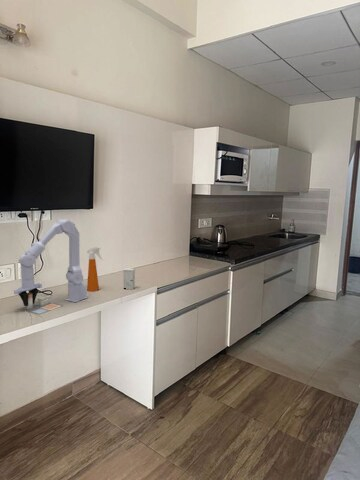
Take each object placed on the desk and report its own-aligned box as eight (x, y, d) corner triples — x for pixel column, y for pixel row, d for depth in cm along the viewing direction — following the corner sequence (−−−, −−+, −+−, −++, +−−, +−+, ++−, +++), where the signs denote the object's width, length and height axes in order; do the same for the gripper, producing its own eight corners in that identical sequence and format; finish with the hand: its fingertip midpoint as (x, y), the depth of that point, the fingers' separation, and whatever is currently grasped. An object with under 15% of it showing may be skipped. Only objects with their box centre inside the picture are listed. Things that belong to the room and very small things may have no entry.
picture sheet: (43, 302, 184) (43, 301, 184) (63, 307, 177) (63, 305, 177) (18, 311, 171) (18, 309, 171) (39, 316, 164) (39, 314, 164)
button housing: (42, 301, 183) (42, 298, 182) (48, 303, 180) (48, 299, 180) (35, 304, 179) (35, 300, 178) (41, 305, 176) (41, 302, 176)
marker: (30, 306, 175) (29, 292, 174) (34, 307, 173) (33, 293, 172) (24, 308, 172) (23, 294, 171) (28, 309, 170) (27, 295, 169)
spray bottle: (100, 292, 200) (99, 247, 196) (84, 290, 203) (83, 246, 200) (106, 289, 206) (105, 246, 203) (91, 287, 210) (90, 245, 206)
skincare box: (123, 289, 207) (122, 269, 205) (125, 287, 212) (125, 267, 210) (133, 289, 206) (132, 269, 205) (135, 287, 211) (135, 268, 209)
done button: (42, 300, 181) (42, 297, 181) (46, 301, 180) (46, 297, 180) (37, 301, 179) (37, 298, 178) (41, 302, 177) (41, 299, 177)
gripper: (34, 274, 178) (36, 299, 180) (9, 280, 166) (10, 307, 168) (44, 275, 175) (45, 301, 177) (18, 282, 162) (20, 310, 164)
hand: (29, 304), depth 172 cm, fingers closed on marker, 3 cm apart
